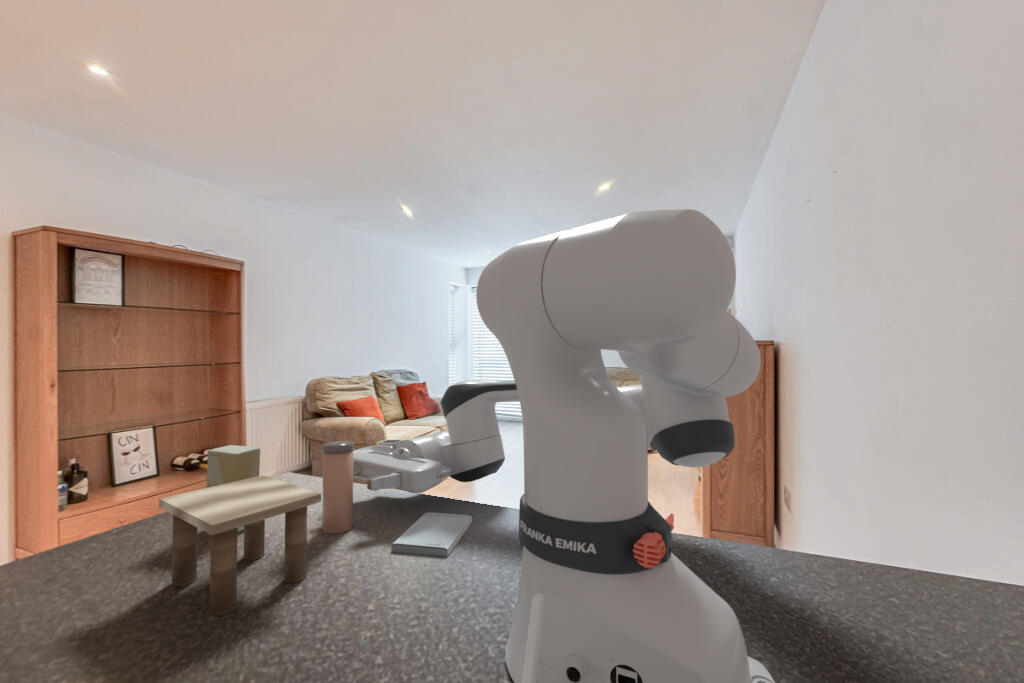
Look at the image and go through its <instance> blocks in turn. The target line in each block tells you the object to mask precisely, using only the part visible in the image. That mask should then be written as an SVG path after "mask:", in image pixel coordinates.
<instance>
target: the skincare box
mask: <svg viewBox="0 0 1024 683" xmlns="http://www.w3.org/2000/svg"><path fill="white" fill-rule="evenodd" d="M260 459H261V448H260V447H252V446H245V445H235V444H230V445H224V446H220V447H216V448H212V449H207V466H206V468H207V470H206V487H205V488H209V487H213V486H217V485H222V484H226V483H231V482H235V481H240V480H244V479H248V478H253V477H257V476H260V465H261V464H260V463H261V460H260ZM242 531H244V526H241V527H238V531H237V534H238V533H240V532H242Z"/></svg>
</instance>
